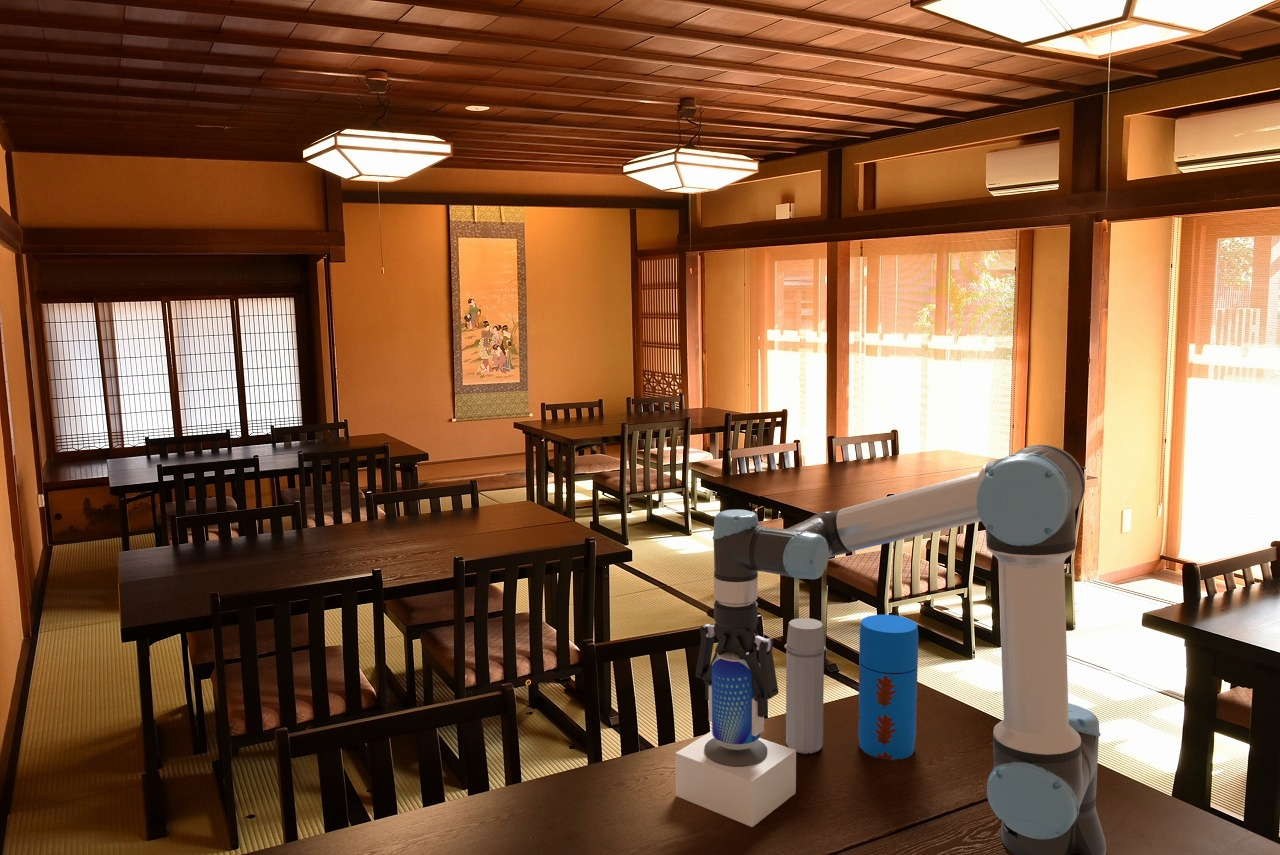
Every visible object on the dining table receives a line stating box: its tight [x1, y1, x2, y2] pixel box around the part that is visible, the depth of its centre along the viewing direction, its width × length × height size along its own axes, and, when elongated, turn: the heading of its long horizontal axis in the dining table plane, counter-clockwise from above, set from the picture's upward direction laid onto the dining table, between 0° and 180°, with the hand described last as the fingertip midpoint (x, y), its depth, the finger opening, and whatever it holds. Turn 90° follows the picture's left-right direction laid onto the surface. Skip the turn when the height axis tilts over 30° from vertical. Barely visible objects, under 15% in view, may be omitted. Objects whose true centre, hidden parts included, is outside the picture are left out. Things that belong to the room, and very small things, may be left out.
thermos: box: [857, 614, 919, 761], centre depth 178 cm, size 11×11×25 cm
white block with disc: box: [675, 730, 797, 828], centre depth 162 cm, size 16×14×8 cm
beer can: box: [711, 652, 761, 750], centre depth 161 cm, size 8×8×16 cm
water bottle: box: [784, 617, 827, 755], centre depth 179 cm, size 9×8×25 cm
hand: (736, 725), depth 161 cm, fingers closed on beer can, 8 cm apart
